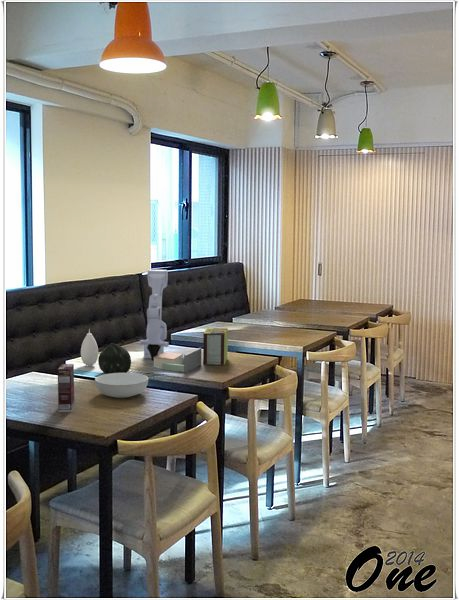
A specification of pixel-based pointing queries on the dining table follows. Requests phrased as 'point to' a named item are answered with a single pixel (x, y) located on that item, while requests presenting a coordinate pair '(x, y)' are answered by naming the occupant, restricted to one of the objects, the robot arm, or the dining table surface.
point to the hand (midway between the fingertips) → (153, 360)
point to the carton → (168, 359)
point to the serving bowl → (121, 384)
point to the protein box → (215, 346)
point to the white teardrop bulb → (89, 350)
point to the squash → (114, 359)
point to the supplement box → (66, 388)
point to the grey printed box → (186, 362)
